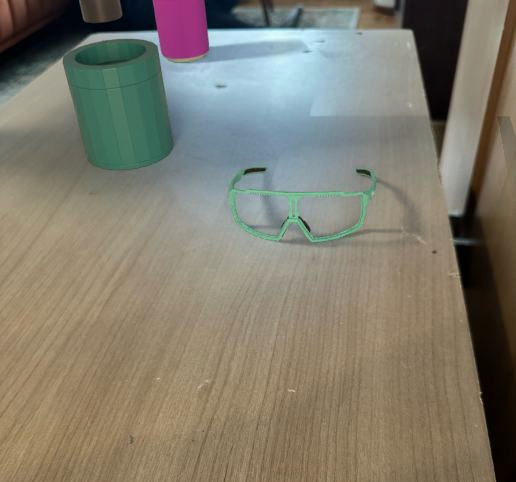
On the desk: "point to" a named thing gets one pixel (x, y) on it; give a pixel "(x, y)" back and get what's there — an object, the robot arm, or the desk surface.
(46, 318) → the desk surface
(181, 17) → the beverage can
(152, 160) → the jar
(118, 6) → the brown wooden rod
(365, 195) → the sunglasses
